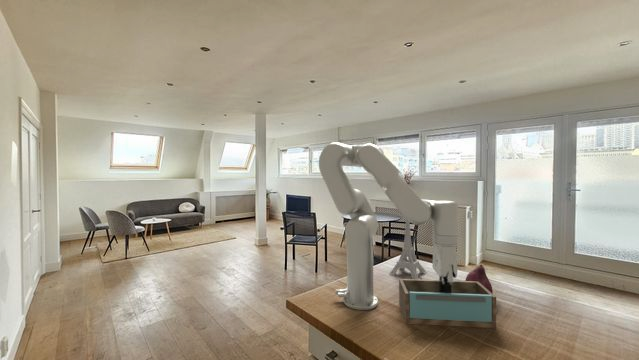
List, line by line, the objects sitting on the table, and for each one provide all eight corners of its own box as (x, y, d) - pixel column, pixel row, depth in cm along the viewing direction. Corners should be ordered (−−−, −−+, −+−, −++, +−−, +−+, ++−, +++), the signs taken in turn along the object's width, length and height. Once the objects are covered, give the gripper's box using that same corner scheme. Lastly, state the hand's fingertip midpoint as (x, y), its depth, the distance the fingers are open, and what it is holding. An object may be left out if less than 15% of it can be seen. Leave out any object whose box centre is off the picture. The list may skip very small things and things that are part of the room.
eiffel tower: (426, 272, 129) (426, 209, 129) (417, 281, 119) (417, 213, 118) (399, 267, 137) (399, 207, 137) (388, 274, 127) (388, 210, 126)
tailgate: (410, 318, 85) (410, 293, 85) (409, 316, 86) (409, 291, 86) (492, 323, 82) (492, 296, 82) (490, 320, 83) (490, 294, 83)
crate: (405, 323, 86) (405, 293, 85) (399, 305, 97) (399, 278, 97) (496, 328, 82) (496, 297, 82) (478, 308, 94) (478, 281, 94)
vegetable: (496, 313, 98) (507, 277, 93) (465, 306, 100) (474, 271, 95) (486, 293, 107) (495, 260, 103) (458, 288, 109) (466, 255, 105)
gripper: (426, 233, 96) (426, 285, 96) (440, 244, 81) (440, 306, 81) (449, 234, 95) (449, 286, 95) (467, 245, 80) (467, 307, 80)
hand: (445, 295), depth 88 cm, fingers closed
